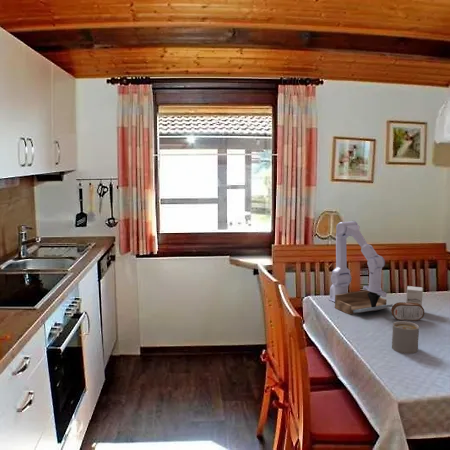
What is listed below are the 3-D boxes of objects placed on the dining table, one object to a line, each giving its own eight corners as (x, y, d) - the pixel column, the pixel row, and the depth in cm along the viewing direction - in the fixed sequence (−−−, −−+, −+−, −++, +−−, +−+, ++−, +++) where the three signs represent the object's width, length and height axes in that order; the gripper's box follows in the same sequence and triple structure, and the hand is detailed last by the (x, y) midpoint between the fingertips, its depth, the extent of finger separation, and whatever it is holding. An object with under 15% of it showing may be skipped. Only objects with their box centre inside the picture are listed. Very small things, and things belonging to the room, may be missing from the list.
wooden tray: (334, 308, 257) (335, 294, 256) (370, 302, 267) (371, 289, 266) (349, 314, 247) (349, 300, 246) (386, 308, 257) (386, 295, 256)
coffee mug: (420, 354, 198) (422, 329, 196) (395, 353, 199) (396, 329, 197) (411, 341, 211) (412, 318, 210) (387, 340, 212) (388, 318, 211)
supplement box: (405, 314, 247) (406, 289, 246) (406, 309, 254) (407, 285, 252) (421, 315, 245) (422, 290, 243) (421, 311, 252) (422, 286, 250)
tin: (422, 319, 239) (423, 302, 238) (424, 321, 236) (425, 304, 235) (390, 318, 241) (391, 301, 240) (392, 320, 238) (392, 303, 237)
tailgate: (352, 310, 247) (360, 309, 242) (384, 305, 255) (392, 304, 250) (353, 313, 247) (361, 312, 241) (384, 308, 255) (393, 307, 250)
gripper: (391, 283, 241) (390, 310, 243) (371, 276, 254) (369, 302, 256) (380, 285, 238) (379, 312, 240) (360, 277, 251) (359, 303, 253)
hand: (373, 307), depth 248 cm, fingers closed, pressing on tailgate
